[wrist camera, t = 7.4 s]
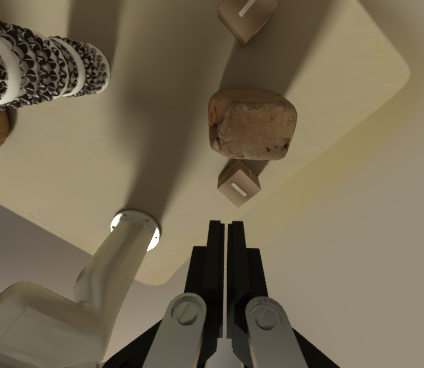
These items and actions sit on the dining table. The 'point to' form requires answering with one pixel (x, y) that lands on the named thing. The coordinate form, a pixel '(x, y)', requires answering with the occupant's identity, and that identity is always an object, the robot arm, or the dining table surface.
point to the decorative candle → (47, 67)
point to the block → (251, 124)
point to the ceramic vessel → (3, 126)
